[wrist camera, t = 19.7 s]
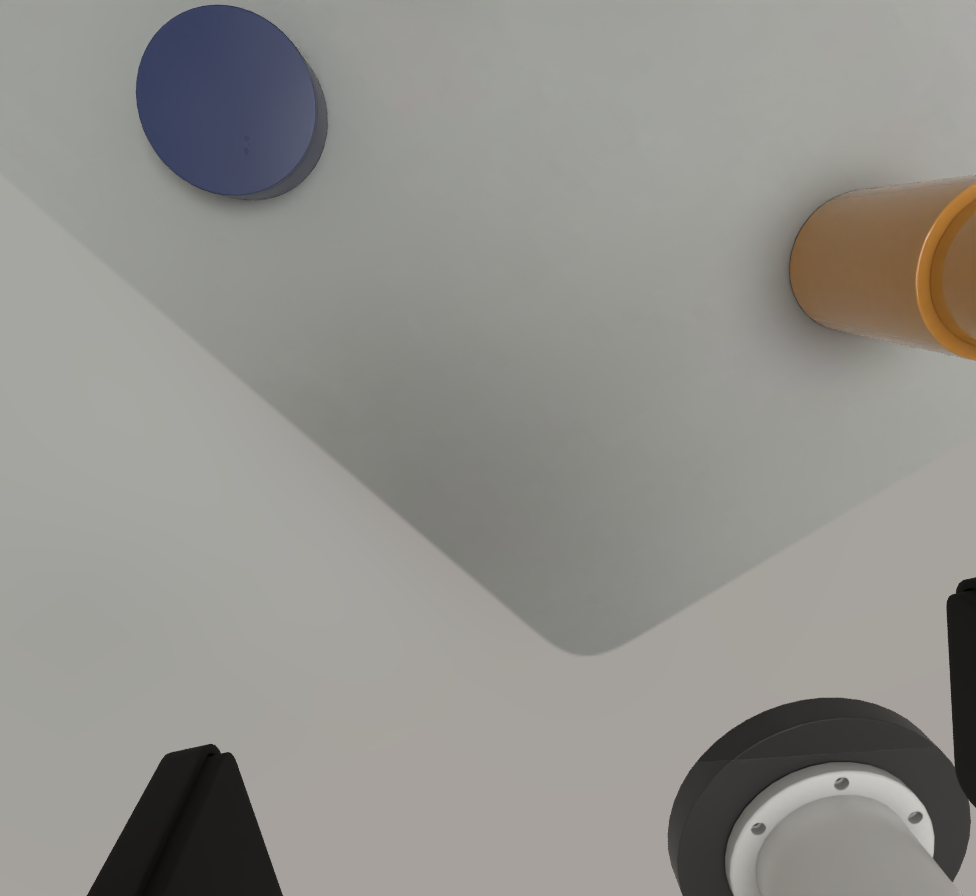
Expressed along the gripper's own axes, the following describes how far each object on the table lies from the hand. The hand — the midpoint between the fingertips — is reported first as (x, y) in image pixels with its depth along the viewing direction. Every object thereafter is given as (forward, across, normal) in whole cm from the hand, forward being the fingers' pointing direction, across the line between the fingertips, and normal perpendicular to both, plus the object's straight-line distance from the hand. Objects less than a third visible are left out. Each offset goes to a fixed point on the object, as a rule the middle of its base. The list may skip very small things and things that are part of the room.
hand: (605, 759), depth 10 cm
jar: (+28, -19, -2) cm, 34 cm away
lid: (+28, +8, -14) cm, 32 cm away
